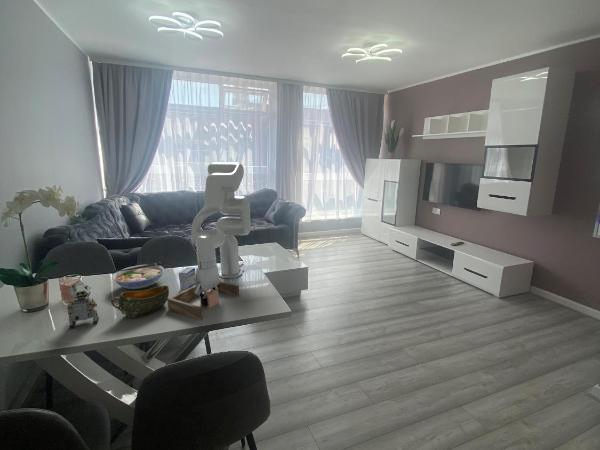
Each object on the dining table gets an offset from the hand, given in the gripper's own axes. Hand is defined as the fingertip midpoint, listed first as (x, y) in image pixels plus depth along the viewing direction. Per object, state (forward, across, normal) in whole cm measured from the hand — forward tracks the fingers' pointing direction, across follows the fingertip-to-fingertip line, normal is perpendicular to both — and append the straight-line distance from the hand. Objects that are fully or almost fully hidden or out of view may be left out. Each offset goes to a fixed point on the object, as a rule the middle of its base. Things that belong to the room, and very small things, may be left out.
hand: (209, 302), depth 139 cm
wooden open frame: (+1, 0, -3) cm, 3 cm away
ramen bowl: (+1, +2, -44) cm, 44 cm away
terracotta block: (+1, 0, 0) cm, 1 cm away
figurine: (+1, +34, -32) cm, 47 cm away
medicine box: (+1, -9, -22) cm, 24 cm away
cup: (+1, +18, -20) cm, 27 cm away
